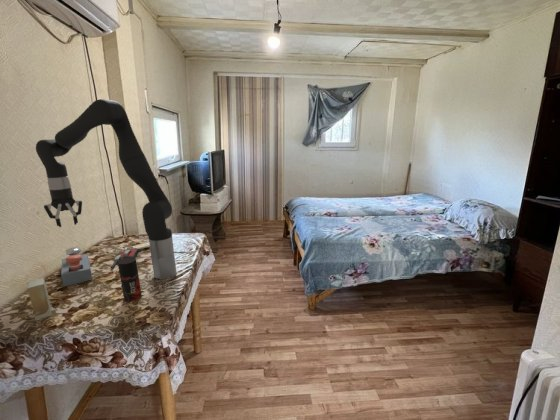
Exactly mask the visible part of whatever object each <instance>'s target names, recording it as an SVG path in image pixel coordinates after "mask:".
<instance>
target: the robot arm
mask: <svg viewBox="0 0 560 420" xmlns="http://www.w3.org/2000/svg"><path fill="white" fill-rule="evenodd" d="M103 125H106V126H107V125H109V126H111V127H112V129H113V131H114V133H115V135H116V137H117V141H118V158H119V161H120V163H121V166H122V167H123V169H124V171H125V173H126V175H127V176H128V177H129V179H131V181H132V182H133V183H135V184H136V185H137V186H138V187H139V188H140V189H141V190H142V192H143V193H144V194H145V196H146V198H147V200H148V202H146V203H145V204H144V205H143V207H142V219H143V225H144V230H145V233H146V235H147V236H148V242H149V251H150V258H151V264H152V272H153V277H154V278H155V279H158V280H161V281H162V280H165V279H169V278H173V277H176V274H177V267H176V266H177V265H176V258H175V248H174V240H173V232H172V229H171V228H169V227H167V223H166V222H167V221H166V220H167V219H169V218H170V217H171V216H172V215H173V214H172V213H173V207H172V206H173V205H172V204H171V201H170V200H169V199H168V197H167V195H166V194H165V192H164V191H163V189H162V188H161V185H160V184H159V182H158V179H157V178H156V176H155V174H154V172H153V170H152V168H151V166H150V164H149V162H148V159H147V157H146V155H145V154H144V151H143V150H142V147H141V145H140V143H139V141H138V139H137V137H136V135H135V133H134V131H133V128H132V126H131V122H130V119H129V116H128V114H127V112H126V110H125V108H124V106H123V105H122V104H121V103H120V102H119V101H116V100H111V99H105V98H104V99H103V98H102V99H96V100H94V101H92V102H91V104H89V105H88V107H86V108H85V110H84V111H83V112H82V113H81V114H80V115H79V116H78V117H77V118H76V119H75V120H74V121H72V122H71V123H70V124H68V125H67V126H65V127H64V128H62V129H61V130H59V131H58V132H56V133H55V136H54V139H41V140H38V141H37V142H36V144H35V151H36V154H37V156H38V158H39V159H40V161H41V163H42V165H43V166H44V169H45V172H46V177H47V185H48V190H49V194H50V199H51V202H50V203H48V204H44V205H43V208H44V210H45V212H46V214H47V215H48V217H49V218H50V219H55V223H56V226H57V227H59V228H62V223H61V218H60V214H61V212H63V211H64V212H65V211H69V212H70V214H72V219H73V223H74V226H75V225H77V224H78V223H79V220H78V216H80V215H82V209H83V201H82V200H81V199H80V200H75V199H74V196H73V191H72V185H71V181H70V179H69V176H68V171H67V166H66V164H65V163H63V162H59V161H57V159H56V158H58V157H63V156H65V155H66V154H68V153H69V152H70V151H71V149H73V147H74V146H76V145H78V144H79V143H80V142H82V141H84V139H85V138H86V137H87V136H88V134H89V132H90V131H92V130H93V129H96V128H97V127H100V126H103ZM75 204H76V206H78V207H77V211H75V209H74V208H73V206H75ZM52 207H53V208H54V209H55V210H56V213H55V214H53V212H52V211H51V209H52Z"/></svg>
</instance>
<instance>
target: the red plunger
mask: <svg viewBox="0 0 560 420" xmlns="http://www.w3.org/2000/svg"><path fill="white" fill-rule="evenodd" d="M81 255H82V254H79V255H72V256H69V255H68V256H67V257H65V259H66V263H69V264H70V268H71V271H75V270H79V269H81V265H80V261H81V260H82V256H81Z"/></svg>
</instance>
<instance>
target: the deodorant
mask: <svg viewBox="0 0 560 420" xmlns="http://www.w3.org/2000/svg"><path fill="white" fill-rule="evenodd" d="M117 265H118V271H119V277H120V283H121V288H122V294H123V301H124V302H127V303H129V302H135V301H137V300H139V299H141V298H142V289H141V283H140V277H139V270H138V263H137V258H133V257H129V258H124V259H121V260H119V261H118V263H117Z"/></svg>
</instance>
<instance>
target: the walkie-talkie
mask: <svg viewBox="0 0 560 420" xmlns="http://www.w3.org/2000/svg"><path fill="white" fill-rule="evenodd" d="M138 254H139V248H137V247H132V248H130V247H129V248H126V249H124V250H123V252H122V253H121V254H119V255H116V256H115V258H114V259H113V261H114V262H113V263H112V265H111V266H110V269H114V267H115V266H116V265H117V264H118V261H119V260H121V259H124V258H129V257H133V258H136V257H138ZM136 259H137V258H136Z"/></svg>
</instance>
